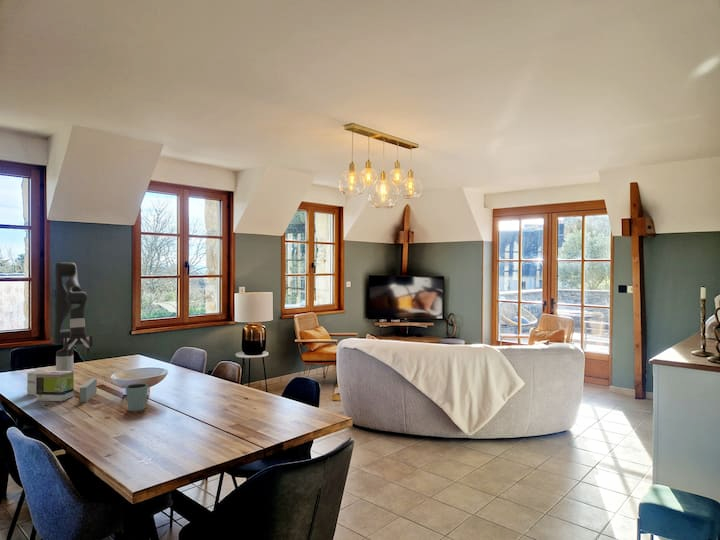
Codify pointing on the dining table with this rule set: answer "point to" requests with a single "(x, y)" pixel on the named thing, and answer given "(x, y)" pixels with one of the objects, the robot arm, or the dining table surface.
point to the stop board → (88, 390)
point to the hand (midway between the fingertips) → (78, 355)
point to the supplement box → (32, 382)
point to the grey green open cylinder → (136, 396)
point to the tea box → (54, 385)
